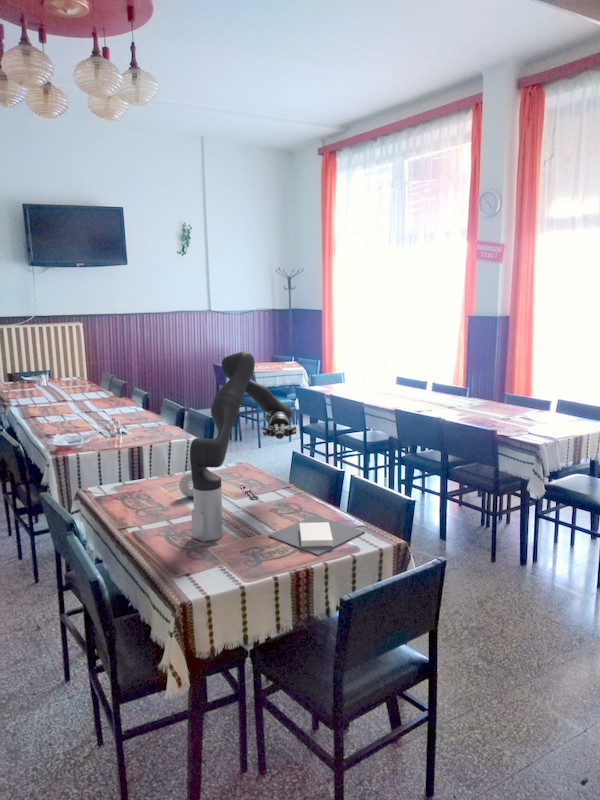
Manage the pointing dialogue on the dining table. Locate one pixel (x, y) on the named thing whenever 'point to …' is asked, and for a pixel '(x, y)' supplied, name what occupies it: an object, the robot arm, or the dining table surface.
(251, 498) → the throwing knife
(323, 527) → the tile
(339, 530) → the mat
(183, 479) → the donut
